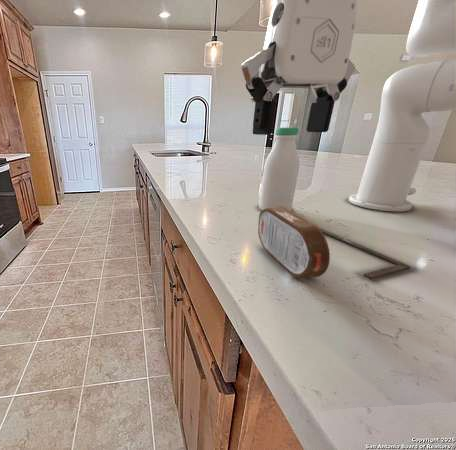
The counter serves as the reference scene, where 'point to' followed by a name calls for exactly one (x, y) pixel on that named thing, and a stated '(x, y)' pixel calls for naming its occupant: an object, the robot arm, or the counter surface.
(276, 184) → the milk bottle
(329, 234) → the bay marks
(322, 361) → the counter surface
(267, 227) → the tin
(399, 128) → the robot arm
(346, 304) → the counter surface
